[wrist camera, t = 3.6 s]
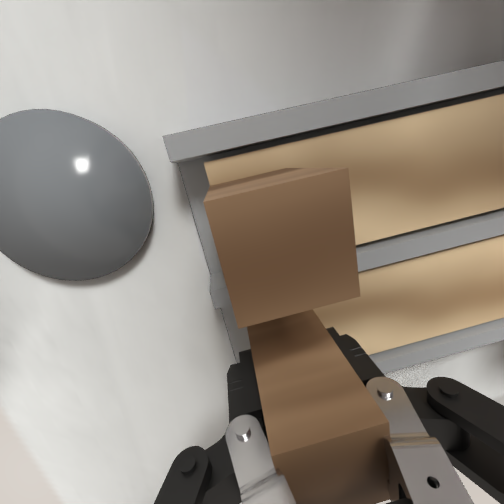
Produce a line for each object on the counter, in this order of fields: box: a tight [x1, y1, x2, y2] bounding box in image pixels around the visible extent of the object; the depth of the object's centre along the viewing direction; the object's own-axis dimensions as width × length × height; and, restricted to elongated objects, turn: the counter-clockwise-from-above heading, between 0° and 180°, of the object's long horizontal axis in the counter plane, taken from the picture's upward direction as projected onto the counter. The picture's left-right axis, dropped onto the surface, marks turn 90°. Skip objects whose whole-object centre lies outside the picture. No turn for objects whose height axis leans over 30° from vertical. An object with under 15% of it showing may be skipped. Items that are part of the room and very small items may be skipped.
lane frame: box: [163, 60, 504, 374], centre depth 15 cm, size 15×30×2 cm, turn 103°
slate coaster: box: [0, 109, 153, 280], centre depth 13 cm, size 8×8×1 cm
